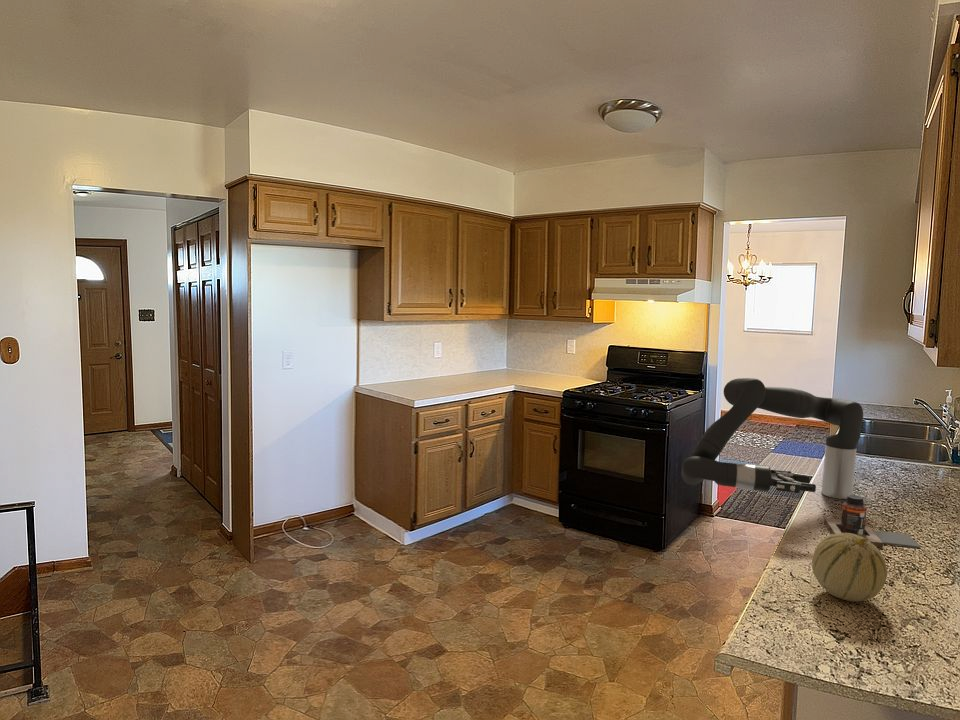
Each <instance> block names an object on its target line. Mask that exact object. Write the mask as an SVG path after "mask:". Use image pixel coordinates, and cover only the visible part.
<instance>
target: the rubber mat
mask: <svg viewBox="0 0 960 720" xmlns="http://www.w3.org/2000/svg"><path fill="white" fill-rule="evenodd" d="M873 532H874V533H875V534H876V535H877V536H878V537H879V539H880V540H881V541H882V542H883V545H888V544H890V546H896V545H897V547H906V548H913V549H921V546H920V544H918V542H917V541H915V540H914V538H912V537H911V536H910V535H909V534H907V533H897V532H888V531H881V530H873Z"/></svg>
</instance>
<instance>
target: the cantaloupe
mask: <svg viewBox="0 0 960 720" xmlns="http://www.w3.org/2000/svg"><path fill="white" fill-rule="evenodd" d="M811 564H812V565H811V567H812V568H811V569H812V572H813V574H814V577H815V579H816V580H817V582H818V583H819V585H820V586H821V587H822V588H823V589H824V590H826V591H827V592H828V594H830V595H831V596H834V597H836V598H838V599H841V600H845V601H847V602H853V603H854V602H855V603H856V602H858V603H859V602H864V601H868V600H871V599H873V598H874V597H876V596H877V595H878V594H879V593H880V592H881V591H882V589H883V588H884V586H885V584H886V581H887V578H888V577H887V576H888V568H887V564H886V561H885V558H884V556H883V554H882V552H881V551H880V548H877V547H876V546H875V545H873V544H872V543H870V542H869V541H868V540H867V539H866V538H863V537H861V536H858V535H856V534H852V533H837V534H830V535H827V536H826V537H824V538H823V539H821V541H820V542H819V543H818V544H817V545H816V547H815V548H814V552H813V555H812V559H811Z"/></svg>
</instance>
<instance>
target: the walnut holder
mask: <svg viewBox="0 0 960 720" xmlns="http://www.w3.org/2000/svg"><path fill="white" fill-rule="evenodd" d="M823 520H824V521H823V524H824V525H825V526H826V528H827V529H828V531H829V532H830V534H831V533H832V534H837V533H842V532H841V531H840V530H841V529H840V528H841V519H837V518H829V517H824V518H823ZM873 531H874V530H873V529H872V528H871V527H870V526H869V524H868V523H867V522H865V531H864V534H865V535H858V536H861V537H863V538H866V539H867V540H868V541H869V542H870V543H872V544H873V545H875V546H876V547H879V548H878V549H884V544H883V542H882V541H881V540H880V539H879V537H878V536H877V535H876V534H875V533H874V532H873ZM832 534H831V535H832ZM856 535H857V534H856Z"/></svg>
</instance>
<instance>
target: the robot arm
mask: <svg viewBox="0 0 960 720" xmlns="http://www.w3.org/2000/svg"><path fill="white" fill-rule="evenodd" d="M723 396H724V399H725V401H726V402H728V404H730V405H732V406H731V408H730V409H729V410H727V411H726V412H725V414H724V415H723V414H722V416H721V417H719V418H718V419H717V420H715V421H714V422H713V423H712V424H711V425H710V426H708V428H706V430H705V432H704V433H703V435H702V436H701V438H700V439H699V440H698V442H697V444H696V446H695V449H694V451H693V453H692V454H691V456H688V457H687V458H686V459H684V460H683V462H682V465H681V470H680V471H681V473H680V474H681V479H682V480H683V481H684V482H685V483H686V484H688V485H689V486H690V485H691V486H696V485H697V486H698V485H700V484H701V483H702V482H703V481H704V480H705V481H710V482H711V481H712V482H714V483H715V484H716V485H718V486H722V487H732V488H738V489H742V490H749V491H750V490H751V491H756V492H767V493H768V492H769V491H770V489H771V486H772V487H775V488H776V491H778V492H779V491H780V492H786V493H787V492H788V493H789V492H790V493H795V494H799V493H800V492H809V493H815V492H816V489H817V485H816V484H815V483H810V480H811V479H810V476H809V475H803V474H795V473H794V472H792V471H787V470H779V469H778V470H777V469H771V467H770V466H768V465H761V464H751V463H750V464H749V463H733V462H725V461H724V462H723V461H719V460H718V461H717V460H716V459H717V458H718V457H719V456H720V455H721V453H722V451H723V450H724V448H725V446H726V445H727V443H728V442H729V440H730V439H731V438H732V436H733V435H734V434H735V433H736V432H737V430H738V429H739V428H740V427H741V426H742V425H743V424H744V422H746V420H748V418H750V416H751V415H752V414H753V413H754V412H755V411H756V410H757V409H761V410H764V411H768V412H771V413H774V414H778V415H782V416H786V417H790V418H791V417H792V418H797V419H807V418H813V419H816V420H820V421H823V422H826V423H828V424H831V425H833V426H838V432H837V433H836V434H830V435H828V436H826V438H825V449H824V462H823V473H822V482H821V494H822V495H823V496H826V497H829V498H833V499H838V500H839V499H840V500H847V496H848V495H853V490H854V481H855V470H856V462H857V461H856V459H857V448H858V447H857V446H858V444H859V441H860V439H861V434H862V427H863V421H864V410H863V407H862V405H861V404H860V403H859V402H858V401H853V400H849V399H843V398H839V397H838V398H837V397H836V398H835V397H823V396H821V397H820V396H817V395H813V394H812V393H810V392H808V391H806V390H802V389H796V388H792V387H791V388H790V387H782V386H780V387H779V386H765V384H764V382H763V381H761V380H760V379H758V378H753V377H749V378H748V377H743V378H741V377H739V378H738V377H737V378H734V379H731V380H730V381H728V382H727V383H726V384H725V386H724V388H723Z"/></svg>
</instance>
